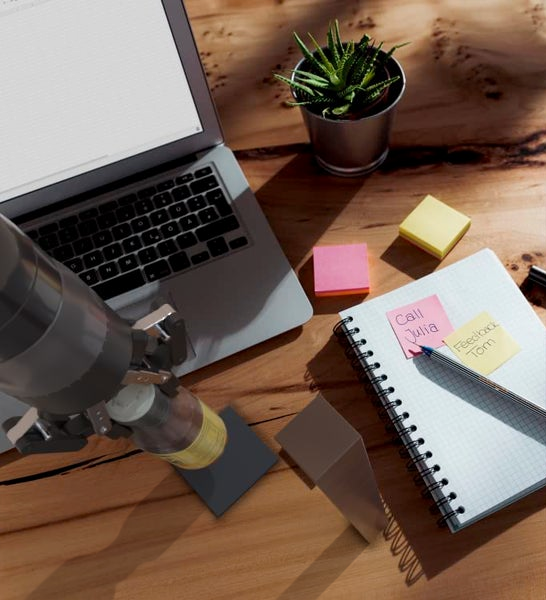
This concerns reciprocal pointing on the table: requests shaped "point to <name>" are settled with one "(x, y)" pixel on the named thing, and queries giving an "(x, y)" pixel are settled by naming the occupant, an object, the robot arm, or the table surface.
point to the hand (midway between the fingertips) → (146, 407)
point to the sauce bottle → (170, 425)
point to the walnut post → (336, 464)
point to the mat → (231, 466)
